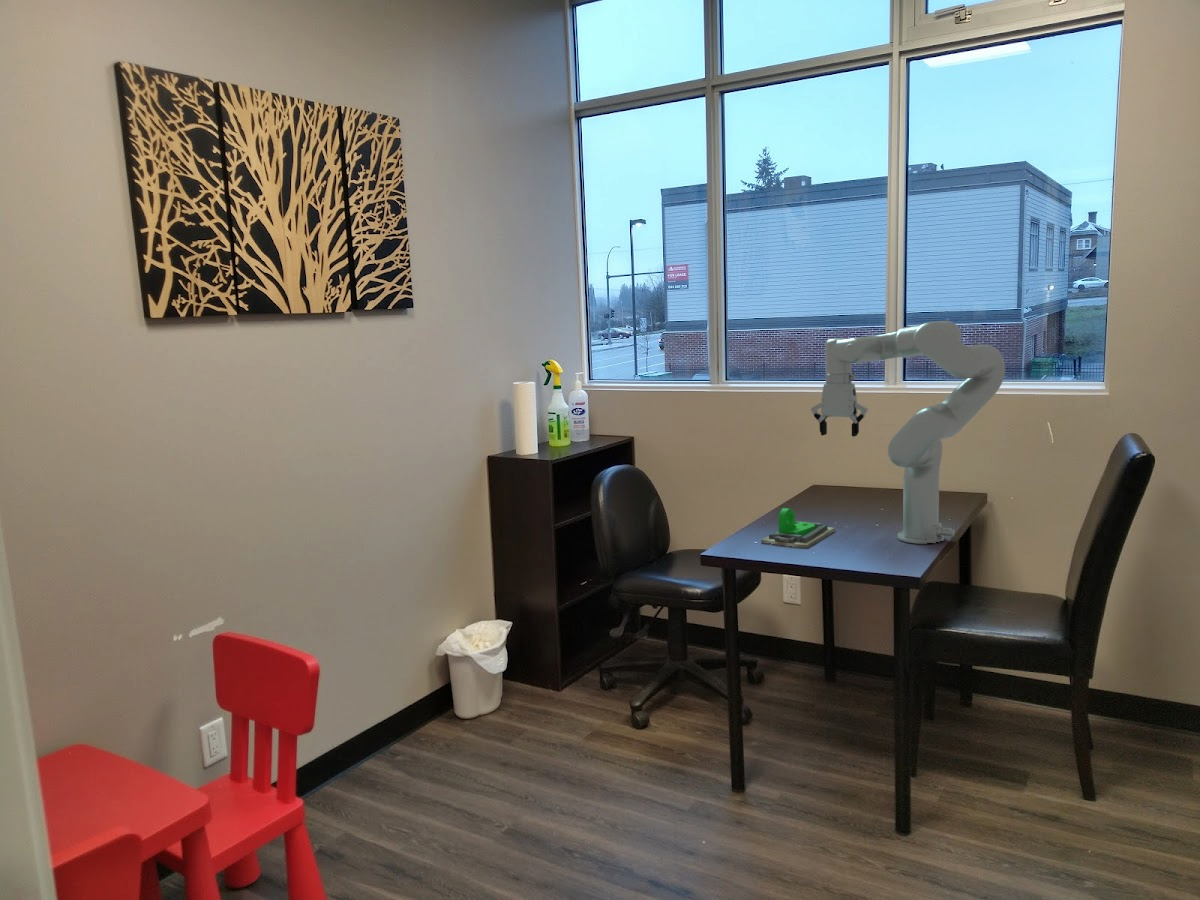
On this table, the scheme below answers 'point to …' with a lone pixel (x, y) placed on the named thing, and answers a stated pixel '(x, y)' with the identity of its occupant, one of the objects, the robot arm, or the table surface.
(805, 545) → the board
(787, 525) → the mechanical part
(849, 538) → the table surface
